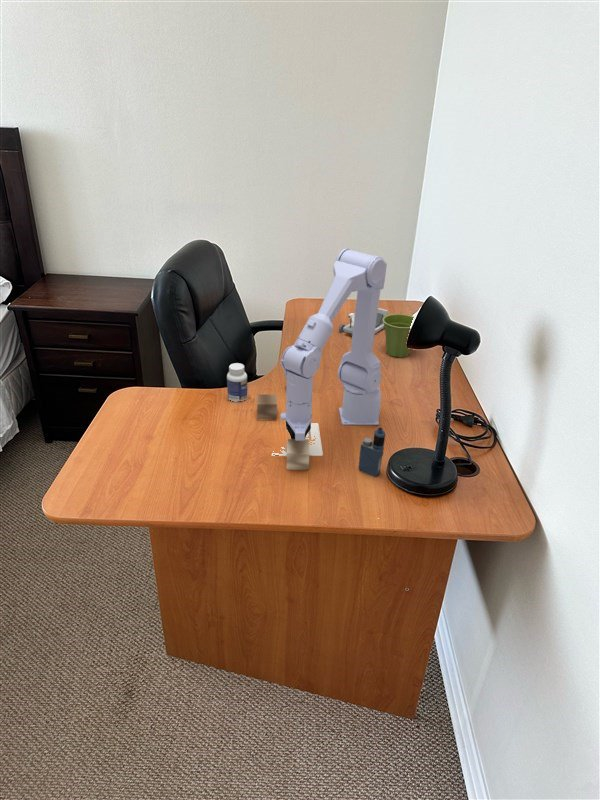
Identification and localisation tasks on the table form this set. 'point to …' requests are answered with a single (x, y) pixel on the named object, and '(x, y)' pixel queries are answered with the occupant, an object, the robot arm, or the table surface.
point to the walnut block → (266, 406)
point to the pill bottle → (237, 382)
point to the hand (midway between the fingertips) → (297, 448)
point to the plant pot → (397, 334)
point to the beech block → (297, 454)
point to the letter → (314, 448)
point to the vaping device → (372, 453)
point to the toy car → (379, 322)
